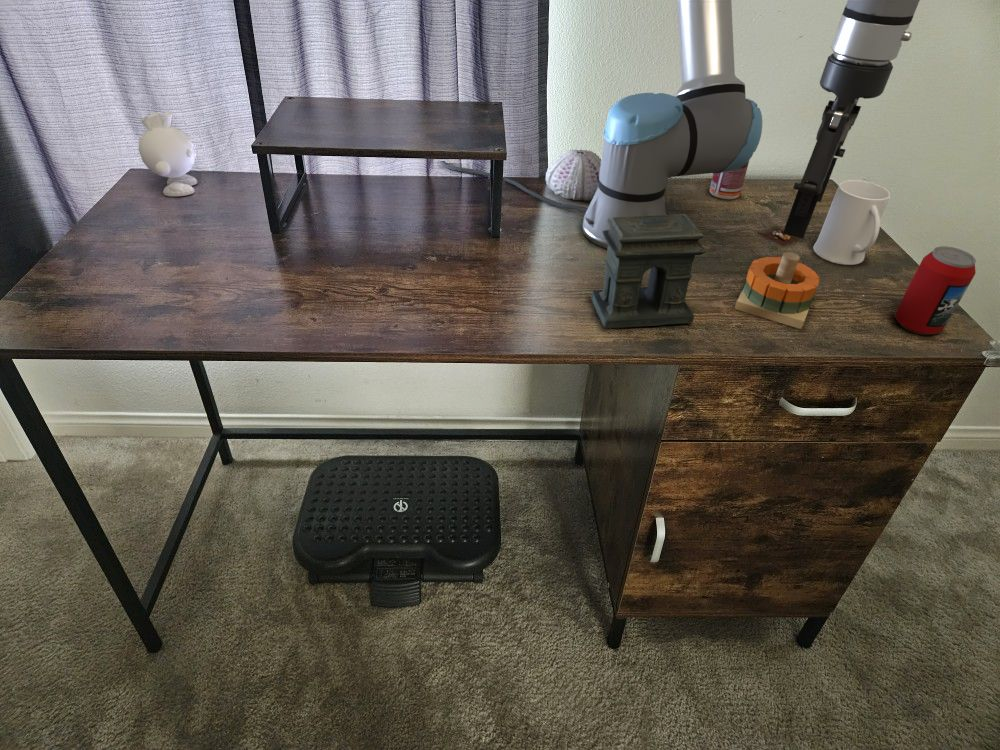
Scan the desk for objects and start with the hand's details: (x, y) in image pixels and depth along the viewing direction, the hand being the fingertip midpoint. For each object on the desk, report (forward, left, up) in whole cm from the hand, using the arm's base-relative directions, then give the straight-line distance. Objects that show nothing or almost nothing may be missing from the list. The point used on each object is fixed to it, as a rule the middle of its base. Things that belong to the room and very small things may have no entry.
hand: (802, 216), depth 93 cm
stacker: (0, -1, -15) cm, 15 cm away
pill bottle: (-18, +36, -15) cm, 43 cm away
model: (-17, -15, -15) cm, 27 cm away
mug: (+7, +21, -15) cm, 27 cm away
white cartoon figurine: (-108, -24, -15) cm, 112 cm away
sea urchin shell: (-44, +20, -15) cm, 50 cm away
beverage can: (+20, +5, -15) cm, 26 cm away
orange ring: (0, -1, -11) cm, 11 cm away
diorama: (-4, +23, -15) cm, 28 cm away
